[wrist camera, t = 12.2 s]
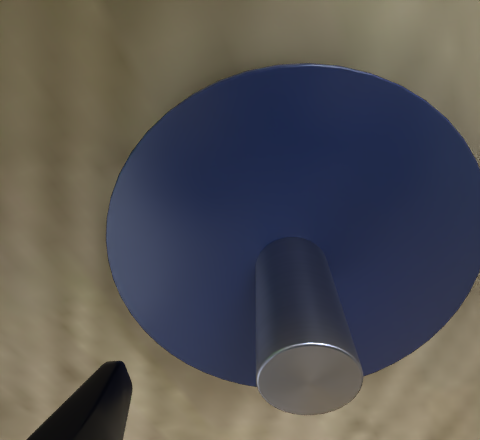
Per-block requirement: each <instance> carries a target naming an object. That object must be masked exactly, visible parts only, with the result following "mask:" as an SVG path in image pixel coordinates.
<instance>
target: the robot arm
mask: <svg viewBox="0 0 480 440" xmlns="http://www.w3.org/2000/svg"><path fill="white" fill-rule="evenodd" d="M131 395H132V382H131V380H130V377H129V374H128V372H127V369H126V367H125V364H124V363H123V362H122V361H109V362H106V363H104V364H103V365H102V366H101V367H100V368H99V369H98V370H97V371H96V372H95V373H94V374H93V375H92V376H91V377H90V378H89V379H88V380H87V381H86V382H84V383H83V384H82V385H81V386H80V387H79V388H78V389H77V390H76V391H75V392H74V393H73V394H72V395H71V396H70V397H69V398H68V399H67V400H66V401H65V402H64V403H63V404H62V405H61V406H60V407H59V408H58V409H57V410H56V411H55V412H54V413H53V414H52V415H51V416H50V417H49V418H48V419H47V420H46V421H45V422H44V423H43V424H42V425H41V426H40V427H39V428H38V429H37V430H36V431H35V432H34V433H33V434H32V435H31V436H30V437H29V438H28V439H27V440H123V436H124V431H125V426H126V421H127V416H128V411H129V406H130V400H131Z"/></svg>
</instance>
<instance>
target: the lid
mask: <svg viewBox="0 0 480 440" xmlns="http://www.w3.org/2000/svg"><path fill="white" fill-rule="evenodd" d="M106 244H107V253H108V261H109V265H110V268H111V272H112V276H113V280H114V282H115V284H116V287H117V289H118V291H119V294H120V296H121V298H122V300H123V301H124V303H125V305H126V306H127V308H128V310H129V311H130V313H131V315H132V316H133V317H134V318H135V320H136V321H137V322H138V323H139V325H140V326H141V327H142V328H143V330H144V331H145V332H146V333H147V334H148V335H149V336H150V337H151V338H152V339H154V340H155V341H156V342H157V343H158V344H159V345H160V346H162V347H163V348H164V349H165V350H167V351H168V352H169V353H171V354H172V355H174V356H175V357H177V358H178V359H180V360H182V361H183V362H185V363H186V364H188V365H190V366H192V367H194V368H196V369H198V370H200V371H202V372H205V373H207V374H210V375H213V376H215V377H218V378H221V379H224V380H227V381H231V382H235V383H238V384H243V385H248V386H254V387H257V388H258V390H259V392H260V394H261V395H262V397H263V398H264V399H265V400H266V401H267V402H268V403H269V404H271V405H272V406H274V407H275V408H277V409H279V410H282V411H285V412H288V413H292V414H298V415H317V414H324V413H328V412H331V411H334V410H337V409H339V408H341V407H343V406H344V405H346V404H347V403H349V402H350V401H351V400H352V399H353V398H355V396H356V395H357V394H358V392H359V391H360V389H361V386H362V382H363V376H366V375H369V374H372V373H374V372H377V371H379V370H381V369H383V368H385V367H387V366H389V365H392V364H394V363H396V362H397V361H399V360H401V359H402V358H404V357H406V356H407V355H409V354H411V353H412V352H414V351H415V350H416V349H418V348H419V347H420V346H422V345H423V344H424V343H426V342H427V341H428V340H429V339H431V338H432V337H433V336H434V335H435V334H436V333H437V332H438V331H439V330H440V329H441V328H442V327H443V326H444V325H445V324H446V323H447V322H448V321H449V320H450V318H451V317H452V316H453V315H454V314H455V313H456V311H457V310H458V309H459V307H460V306H461V304H462V303H463V301H464V300H465V298H466V297H467V295H468V294H469V292H470V290H471V288H472V286H473V284H474V282H475V280H476V278H477V276H478V274H479V271H480V169H479V166H478V163H477V161H476V159H475V157H474V156H473V154H472V152H471V150H470V149H469V147H468V145H467V143H466V142H465V140H464V138H463V137H462V136H461V135H460V134H459V132H458V131H457V130H456V129H455V128H454V126H453V125H452V124H451V123H450V122H449V120H448V119H447V118H446V117H445V116H443V115H442V114H441V113H440V112H439V111H438V110H436V109H435V108H434V107H433V106H432V105H431V104H429V103H428V102H427V101H426V100H424V99H423V98H421V97H419V96H418V95H416V94H414V93H413V92H411V91H409V90H408V89H406V88H404V87H403V86H401V85H399V84H396V83H394V82H391V81H389V80H386V79H384V78H381V77H379V76H377V75H374V74H371V73H367V72H363V71H359V70H355V69H351V68H347V67H342V66H337V65H325V64H314V63H300V64H281V65H273V66H268V67H263V68H258V69H253V70H248V71H245V72H242V73H239V74H236V75H233V76H231V77H228V78H225V79H222V80H219V81H217V82H215V83H213V84H211V85H209V86H207V87H205V88H204V89H202V90H200V91H198V92H196V93H194V94H192V95H191V96H189V97H188V98H187V99H185V100H184V101H182V102H181V103H179V104H178V105H177V106H175V107H174V108H172V109H171V110H170V111H168V112H167V113H166V114H165V115H164V116H163V117H162V118H161V119H160V120H159V121H158V122H157V123H156V124H155V125H154V126H153V127H152V128H151V129H150V130H148V131H147V133H146V134H145V135H144V136H143V138H142V139H141V140H140V142H139V143H138V144H137V146H136V147H135V148H134V149H133V151H132V152H131V154H130V155H129V157H128V159H127V161H126V163H125V164H124V166H123V168H122V170H121V172H120V173H119V176H118V179H117V181H116V184H115V187H114V190H113V192H112V195H111V199H110V204H109V209H108V214H107V225H106Z"/></svg>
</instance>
